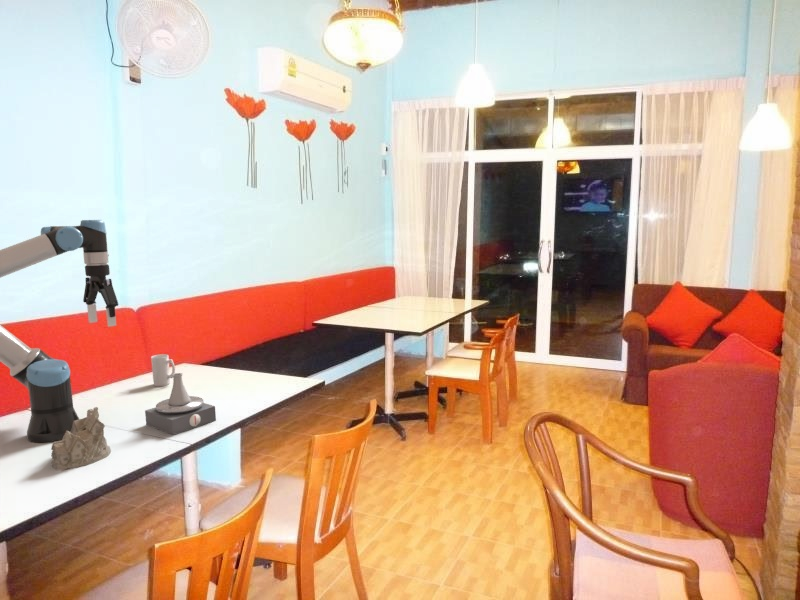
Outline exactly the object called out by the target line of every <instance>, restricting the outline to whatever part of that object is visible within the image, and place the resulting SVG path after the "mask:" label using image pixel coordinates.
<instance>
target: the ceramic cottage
mask: <svg viewBox="0 0 800 600" xmlns="http://www.w3.org/2000/svg"><path fill="white" fill-rule="evenodd" d="M99 418H100V413H99V406H95V407H93V408H90V409H87V410H86V417H84V418H79V420H75V421H74V422H73V426H72V429H71V431H70V432H69V431H66V433H65V435H64V436H63V439H61V440H57V441H53V443H52V445H51V455H50V456H51V458H52V459H53V460H52V462H51V464H50V466H51V467H52V468H54V470H56V471H57V470H58V471H62V470H64V471H65V470H68V469H74V468H79V467H85V466H88V465H90V464H94V463H96V462H99V461H101V460H103V459H106V458H107V457H109V456H110V455H111V453H112V450H111V447H110V446H109V445H108V443H107V439H106V437H105V435H104V433H105V432H104V428H105V424H104V423H103V422H102V421H101V420H100V419H99Z"/></svg>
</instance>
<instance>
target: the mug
mask: <svg viewBox="0 0 800 600" xmlns="http://www.w3.org/2000/svg"><path fill="white" fill-rule="evenodd" d="M150 360H151V370H152V379H153V386H154V387H163V386H168V385H170V384H171V379H173V377H172V375H173V374H175V372H176V366H175V363H174V360H173V359H172V358H171V359H170V357H169V354H163V353H162V354H160V353H159V354H155V355H152V356H151V357H150ZM170 365H171V368H172V371H171V373H170Z"/></svg>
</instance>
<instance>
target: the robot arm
mask: <svg viewBox="0 0 800 600" xmlns="http://www.w3.org/2000/svg"><path fill="white" fill-rule="evenodd" d="M81 248H82V252H83V262H84V263H83V264H85V266H84V270H85V271H84V272H85V276H86V277H85V287H84V294H83V300H82V301H83V303H85V305H87V306H86V307H87V316H88V317H87V319H88V324H91V323H92V324H93V323H98V314H97V311H98V310H97V302H96V299H97V296H98V293H99V294H100V295H101V297H102V299H103V301H104V303H105V305H106V306H105V313H106V323H107V327H108V328H110V327H115V326H116V327H117V317H116V307H118V306H119V302H118V299H117V296H116V293H115V289H114V287H113V279H112V278H107V277H106V276H109V275H110V273H111V272H110V265H109V256H110V255H109V253H108V241H107V230H106V224H105V221H104V220H102V219H82V220H80V224H79V225H74V226H73V225H59V226H55V225H53V226H51V225H50V226H42V227H41V228H40V235H38V236H34V237H31V238H28V239H26V240H23V241H22V242H19V243H16V244H13V245H10V246H8V247H4V248H1V249H0V278H3V277H5V276H9V275H11V274H14V273H16V272H19V271H21V270H23V269H27V268H28V267H31V266H33V265H36V264H39V263H42V262H44V261H47V260H49V259H51V258H55V257H56V256H59V255H63V254H65V253H67V252H72V251H73V252H74V251H75V250H78V249H81ZM0 363H2V364H3V365H4V366H6V367H7V368H8V369H9V375H10V376H11V377H12V378H14V379H15V380H16V381H17V382H19V383H20V384H21V385H23V386H24V387H25V388H27V391H28V395H29V404H30V412H31V413H30V414H31V415H30V419H29V422H28V427H27V431H26V437H27V441H30V442H31V443H32V442H33V443H48V442H57V441H62V439H63V436H64V435H65V433H66V431H69V432H70V431H71V429H72V426H73V422H74V421H75V420H79V419H80V418H79V415H78V413H77V412H76V410H75V408H74V400H73V393H72V392H73V391H72V382H71V369H70V366H69V364H68V362H67V361H65V360H63V359H56V358H54V357H51V356H50V355H48V354H47V353H46V352H45V351H43V350H42V349H40V348H39V347H34V348H31V347H30V346H28V345H27V344H26V343H25V342H23V341H22V340H21V339H19V338H18V337H17V336H16V335H14V334H13V333H12V332H10V331H9V330H8V329H6V328H5V327H4V326H3V325H1V324H0Z"/></svg>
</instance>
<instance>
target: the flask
mask: <svg viewBox="0 0 800 600" xmlns="http://www.w3.org/2000/svg"><path fill="white" fill-rule="evenodd" d="M172 377H173V378H172V380H173V381H172V388H171V393H170V395H169V398H168V399H169V402H168V405H172V406H178V405H185V404H187V403H190V401H191V399H190V397H189V396H190V395H189V393H188V391H187V389H186V387H185V385H184V382H183V372H182V373H181V372H176V373H174V374H173V375H172Z"/></svg>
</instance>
